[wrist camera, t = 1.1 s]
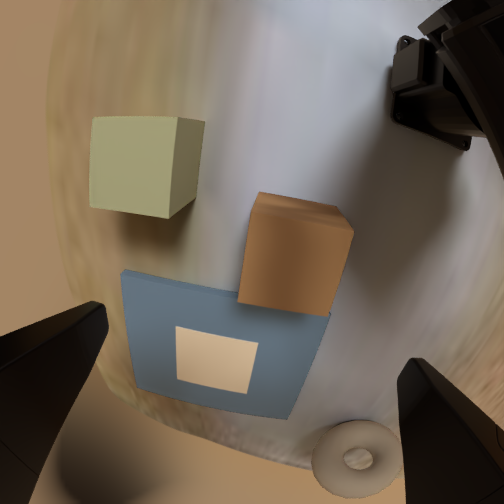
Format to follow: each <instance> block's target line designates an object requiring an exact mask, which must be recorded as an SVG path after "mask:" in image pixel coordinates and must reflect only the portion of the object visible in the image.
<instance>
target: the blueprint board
mask: <svg viewBox="0 0 504 504" xmlns="http://www.w3.org/2000/svg"><path fill="white" fill-rule="evenodd" d="M120 275H121V286H122V296H123V306H124V314H125V322H126V329H127V335H128V342H129V348H130V354H131V359H132V365H133V370H134V375H135V380H136V385H137V388H140V389H143V390H146V391H149V392H152V393H156V394H159V395H163V396H166V397H170V398H173V399H177V400H181V401H185V402H189V403H193V404H197V405H201V406H206V407H210V408H215V409H220V410H225V411H230V412H236V413H242V414H248V415H254V416H261V417H268V418H276V419H285V420H287V419H288V417H289V415H290V413H291V411H292V408H293V406H294V404H295V402H296V400H297V397H298V395H299V393H300V391H301V388H302V386H303V384H304V381H305V379H306V377H307V374H308V372H309V370H310V367H311V365H312V362H313V360H314V357H315V355H316V352H317V350H318V347H319V345H320V342H321V340H322V337H323V334H324V332H325V329H326V326H327V323H328V321H329V318H330V315H331V313H330V312H329V315H328V317H326V316H319V315H312V314H305V313H299V312H292V311H286V310H280V309H274V308H268V307H262V306H257V305H251V304H245V303H240V302H237V301H238V294H239V293H235V292H230V291H224V290H219V289H214V288H209V287H204V286H199V285H194V284H189V283H184V282H180V281H175V280H170V279H165V278H161V277H156V276H152V275H147V274H143V273H138V272H134V271H130V270H124V271H123V272H122V273H121V274H120Z"/></svg>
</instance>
